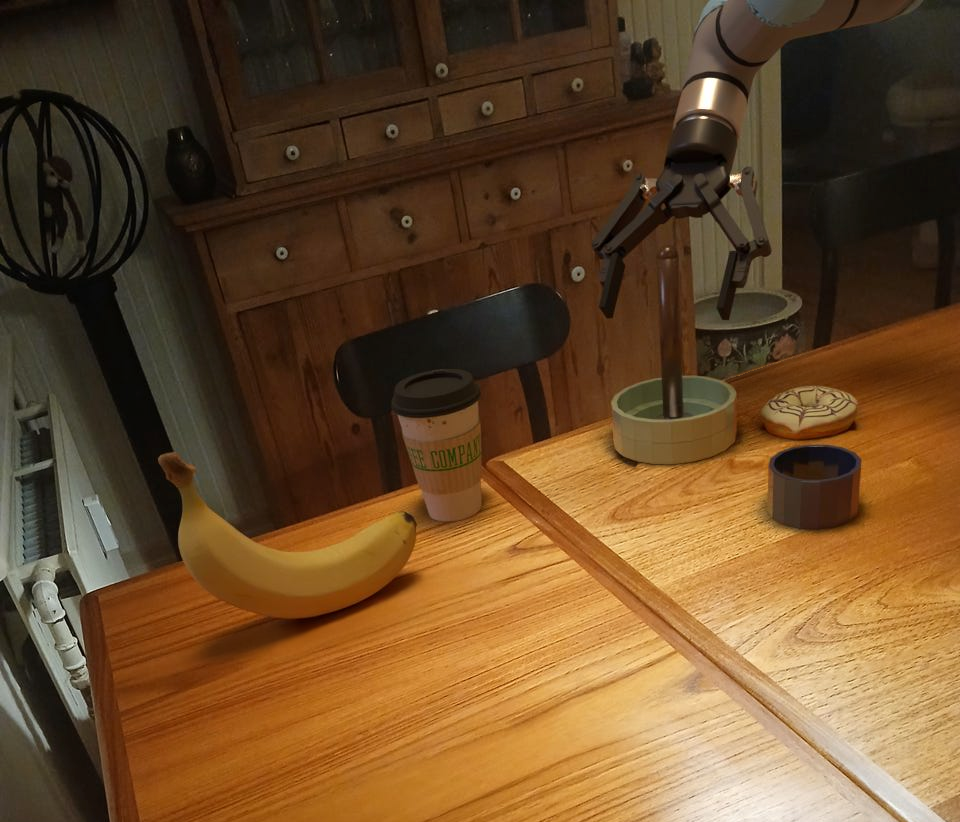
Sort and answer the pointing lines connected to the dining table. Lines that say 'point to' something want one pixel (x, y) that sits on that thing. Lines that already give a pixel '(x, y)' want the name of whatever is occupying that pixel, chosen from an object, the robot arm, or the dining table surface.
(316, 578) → the banana
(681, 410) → the wooden pestle
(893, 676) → the dining table surface
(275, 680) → the dining table surface
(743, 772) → the dining table surface
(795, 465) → the crock
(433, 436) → the coffee cup
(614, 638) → the dining table surface
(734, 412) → the bowl
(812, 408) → the decorated donut
